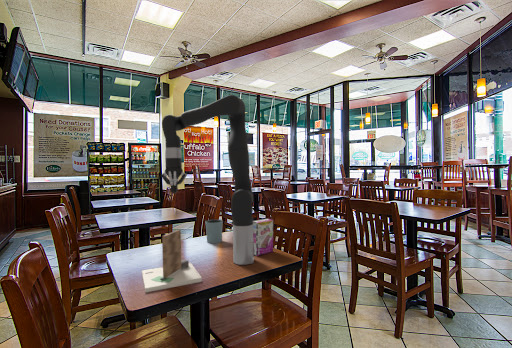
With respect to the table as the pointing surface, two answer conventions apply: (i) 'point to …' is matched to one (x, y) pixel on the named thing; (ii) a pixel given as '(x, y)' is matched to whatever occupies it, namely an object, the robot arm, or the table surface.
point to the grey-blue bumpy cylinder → (214, 231)
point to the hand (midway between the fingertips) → (174, 193)
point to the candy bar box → (263, 236)
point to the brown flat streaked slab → (172, 254)
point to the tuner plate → (169, 278)
